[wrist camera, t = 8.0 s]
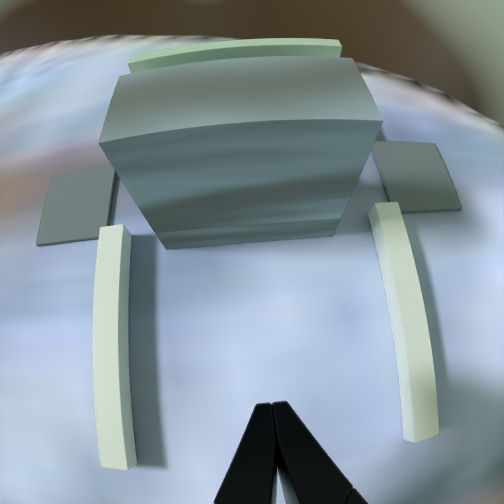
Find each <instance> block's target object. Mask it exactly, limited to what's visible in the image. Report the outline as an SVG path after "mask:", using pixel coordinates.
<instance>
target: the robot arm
mask: <svg viewBox="0 0 504 504" xmlns="http://www.w3.org/2000/svg"><path fill="white" fill-rule="evenodd" d="M277 468H278V474H279V478H280V482H281V486H282V490H283V494H284V498H285V501H286V504H368V503H367V502H366V501H365V499H364V498H363V497H362V496H361V495H360V494H359V492H358V491H357V490H356V489H355V488H353V485H352V484H351V483H350V482H349V481H348V479H347V478H346V477H345V476H344V474H343V473H342V472H341V471H340V469H339V468H338V467H337V466H336V464H335V463H334V462H333V461H332V459H331V458H330V457H329V456H328V454H327V453H326V452H325V450H324V449H323V448H322V447H321V445H320V444H319V443H318V441H317V440H316V439H315V438H314V436H313V435H312V434H311V432H310V431H309V430H308V428H307V427H306V426H305V424H304V423H303V422H302V420H301V419H300V418H299V416H298V415H297V414H296V412H295V411H294V410H293V408H292V407H291V406H290V404H289V403H288V402H287V401H279V402H273V403H272V405H271V403H258V404H256V406H255V408H254V410H253V413H252V415H251V417H250V420H249V422H248V425H247V427H246V430H245V432H244V434H243V437H242V439H241V441H240V444H239V446H238V448H237V451H236V453H235V455H234V458H233V460H232V462H231V464H230V467H229V469H228V471H227V473H226V476H225V478H224V480H223V482H222V484H221V487H220V489H219V491H218V493H217V495H216V497H215V500H214V504H276V496H277ZM352 488H353V489H352Z"/></svg>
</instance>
